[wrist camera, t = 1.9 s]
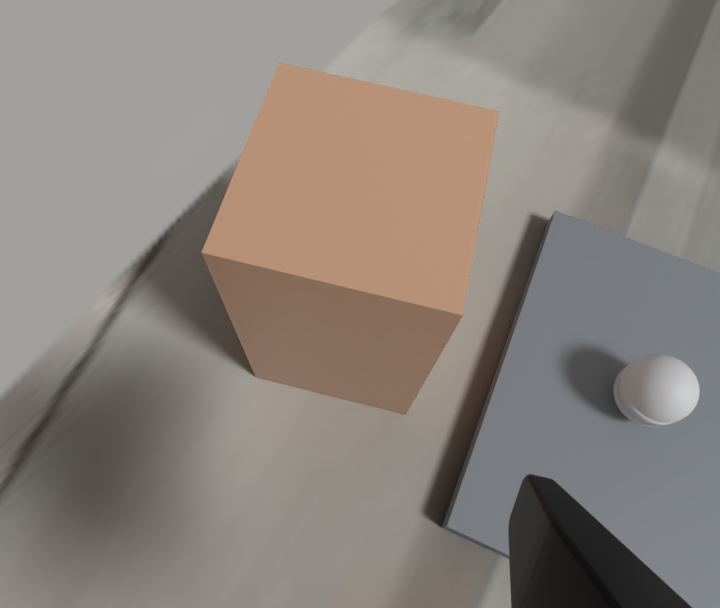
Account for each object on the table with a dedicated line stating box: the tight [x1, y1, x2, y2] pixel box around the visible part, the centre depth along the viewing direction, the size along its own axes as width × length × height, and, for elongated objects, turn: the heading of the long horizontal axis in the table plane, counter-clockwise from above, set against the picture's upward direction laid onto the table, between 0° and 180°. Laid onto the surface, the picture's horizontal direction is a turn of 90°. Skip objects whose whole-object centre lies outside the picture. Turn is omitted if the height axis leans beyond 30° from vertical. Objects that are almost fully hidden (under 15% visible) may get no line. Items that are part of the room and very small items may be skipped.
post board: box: [442, 211, 720, 608], centre depth 20 cm, size 14×10×4 cm
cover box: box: [201, 63, 499, 415], centre depth 18 cm, size 6×6×10 cm
